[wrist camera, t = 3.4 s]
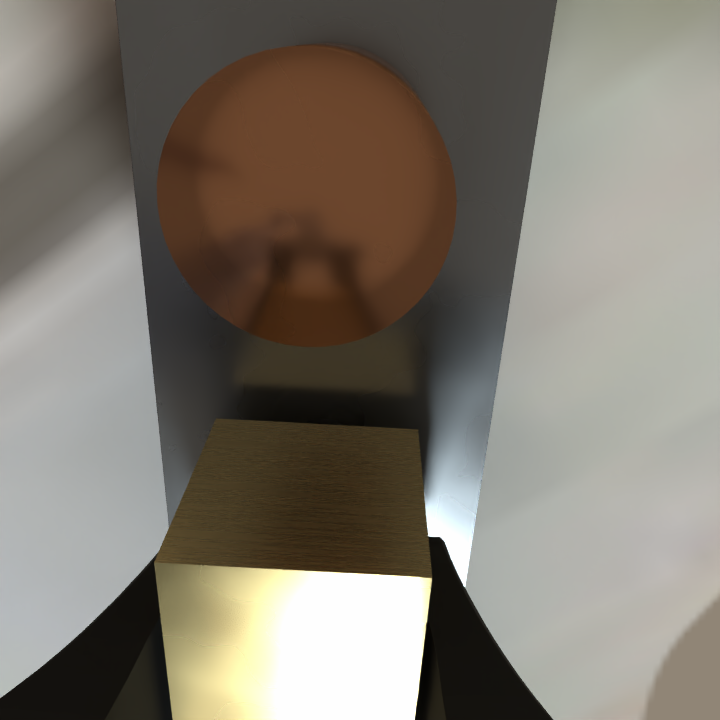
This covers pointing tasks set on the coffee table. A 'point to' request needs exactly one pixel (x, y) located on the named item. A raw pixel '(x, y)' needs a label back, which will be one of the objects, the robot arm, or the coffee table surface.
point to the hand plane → (333, 218)
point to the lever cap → (297, 575)
